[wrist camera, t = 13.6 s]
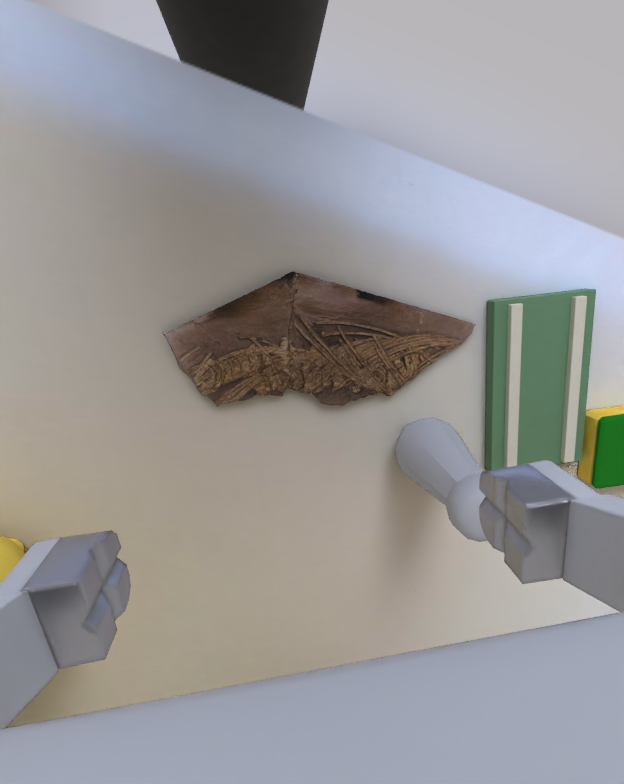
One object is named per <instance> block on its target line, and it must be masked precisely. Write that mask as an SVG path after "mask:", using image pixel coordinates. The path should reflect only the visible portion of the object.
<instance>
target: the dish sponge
mask: <svg viewBox="0 0 624 784" xmlns="http://www.w3.org/2000/svg"><path fill="white" fill-rule="evenodd" d="M578 476H579V477H580V478H582V479H583V480H585V481H586V482H588V483H589V484H591V485H593V486H594V487H595V488H604V487H611V486H618V485H624V406H618V407H610V408H602V409H594V410H587V411H586V412H585V424H584V436H583V447H582V459H581V461H579V467H578Z"/></svg>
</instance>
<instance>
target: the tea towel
mask: <svg viewBox="0 0 624 784" xmlns="http://www.w3.org/2000/svg"><path fill="white" fill-rule="evenodd" d="M595 294H596V290H595V289H580V290H572V291H563V292H555V293H546V294H538V295H529V296H521V297H513V298H504V299H496V300H488V301H487V372H486V446H485V469H486V470H487V471H491V470H496V469H501V468H507V467H512V466H517V465H523V464H528V463H533V462H538V461H543V460H548V461H552V462H553V463H555V464H556V465H557V464H564V463H571V462H577V461H581V459H582V447H583V436H584V424H585V412H586V400H587V388H588V377H589V365H590V353H591V341H592V329H593V318H594V306H595Z"/></svg>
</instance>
